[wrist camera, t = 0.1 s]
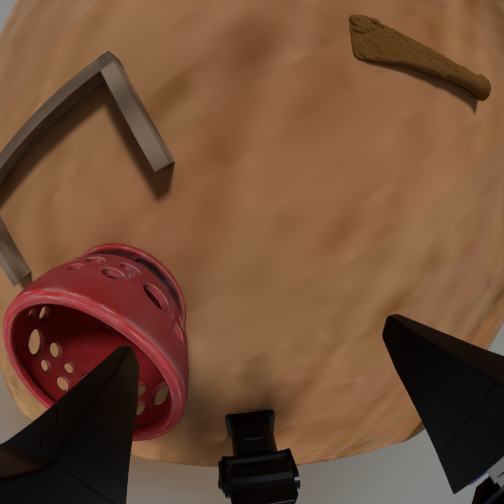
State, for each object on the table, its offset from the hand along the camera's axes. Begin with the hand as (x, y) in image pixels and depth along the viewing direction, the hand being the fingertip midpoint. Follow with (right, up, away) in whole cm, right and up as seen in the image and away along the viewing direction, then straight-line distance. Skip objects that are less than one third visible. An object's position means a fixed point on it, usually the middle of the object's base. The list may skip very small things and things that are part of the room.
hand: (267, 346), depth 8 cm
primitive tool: (+17, +23, +10) cm, 30 cm away
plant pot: (-12, -1, +15) cm, 19 cm away
